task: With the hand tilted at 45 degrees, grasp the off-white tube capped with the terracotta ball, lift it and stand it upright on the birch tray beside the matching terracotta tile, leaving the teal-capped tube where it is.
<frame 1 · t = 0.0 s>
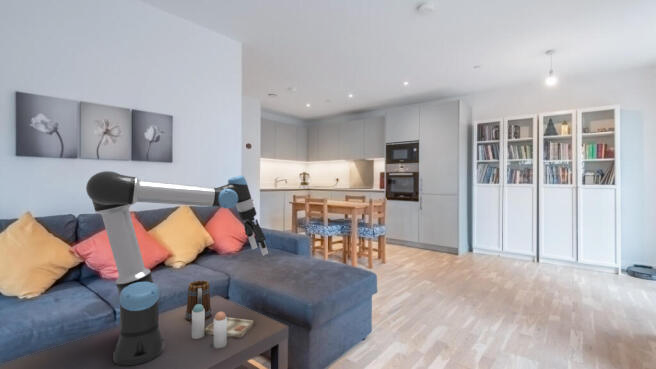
hand: (260, 251, 147), 28 cm above the table, tool tilted 20°, fingers open, 13 cm apart
tray: (229, 329, 128), on the table
tube teal: (198, 335, 123), on the table
mug: (198, 319, 137), on the table
tube terracotta: (220, 345, 116), on the table
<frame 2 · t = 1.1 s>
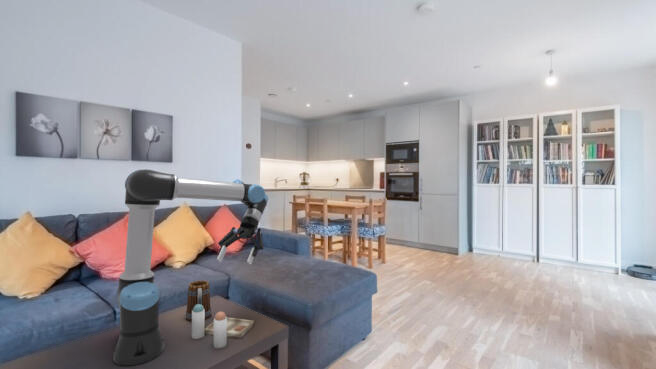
hand: (233, 261, 128), 28 cm above the table, tool tilted 45°, fingers open, 13 cm apart
nothing on the table moved.
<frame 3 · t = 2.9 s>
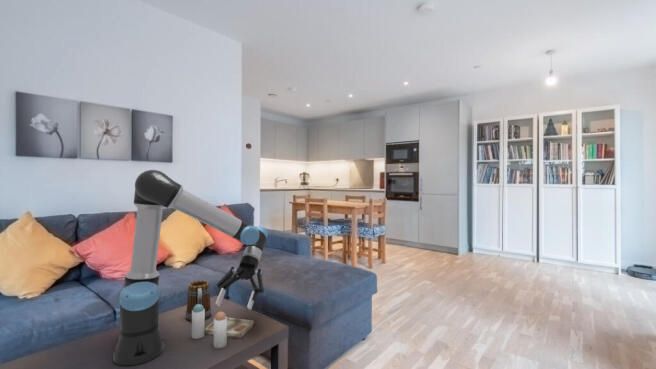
hand: (232, 306, 123), 11 cm above the table, tool tilted 45°, fingers open, 13 cm apart
nothing on the table moved.
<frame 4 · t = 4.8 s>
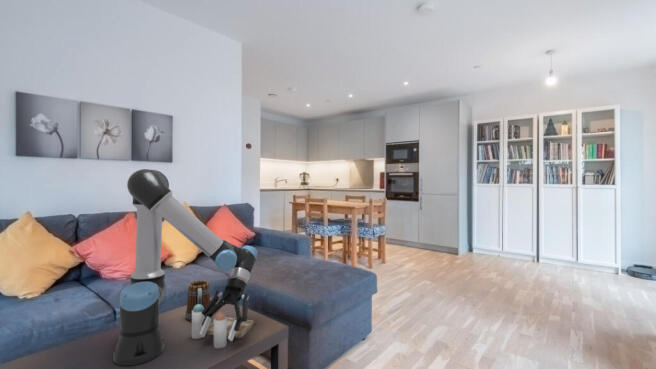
hand: (215, 337, 113), 4 cm above the table, tool tilted 45°, fingers open, 11 cm apart
nothing on the table moved.
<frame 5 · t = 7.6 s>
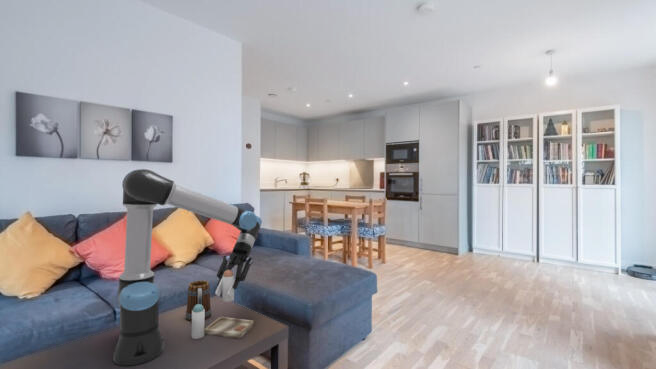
hand: (223, 295, 125), 15 cm above the table, tool tilted 45°, fingers closed on tube terracotta, 5 cm apart
tube terracotta: (228, 299, 128), point 12 cm above the table, touching gripper
everything else where it was.
when the fingers open (5 cm above the table, at t = 9.8 s): tube terracotta stays where it is, resting on tray.
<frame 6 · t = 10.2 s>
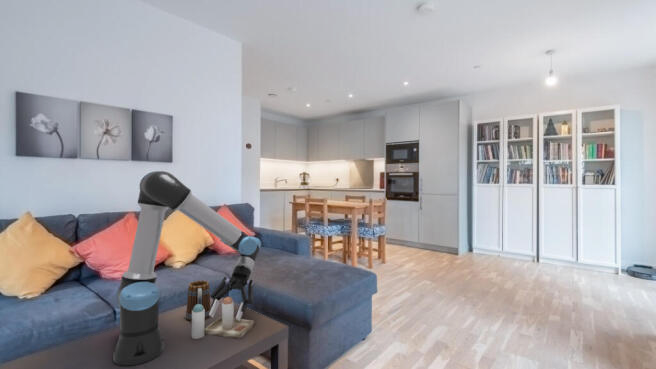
hand: (224, 317, 126), 6 cm above the table, tool tilted 45°, fingers open, 11 cm apart
tube terracotta: (227, 326, 129), point 1 cm above the table, touching tray
everything else where it was.
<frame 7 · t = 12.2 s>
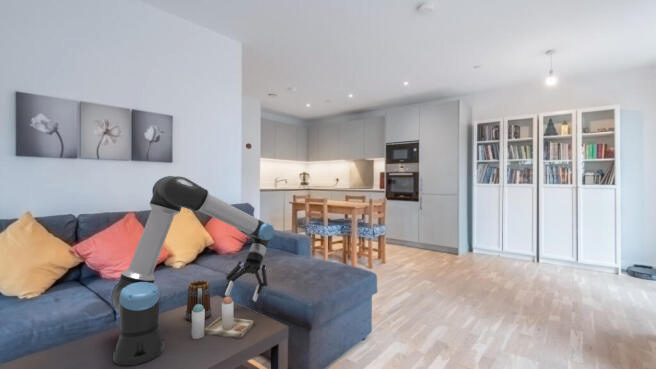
hand: (240, 298, 139), 9 cm above the table, tool tilted 40°, fingers open, 13 cm apart
nothing on the table moved.
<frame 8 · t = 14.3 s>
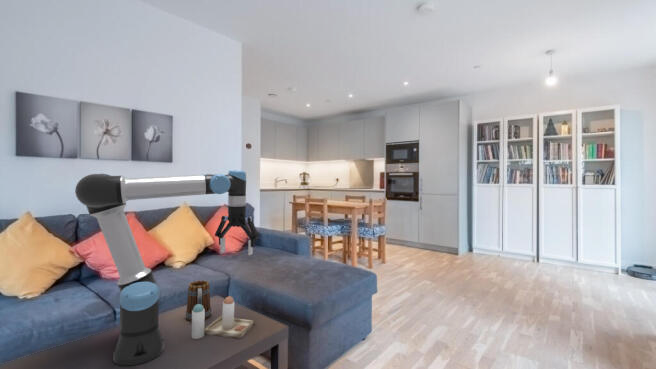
hand: (236, 253, 138), 29 cm above the table, tool pointing down, fingers open, 13 cm apart
nothing on the table moved.
at the end: tube terracotta inside the target area on the tray (0.5 cm from its centre), point 0.9 cm above the tray's base; tube terracotta tilted 2°; tube teal moved 0.1 cm from its start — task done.
